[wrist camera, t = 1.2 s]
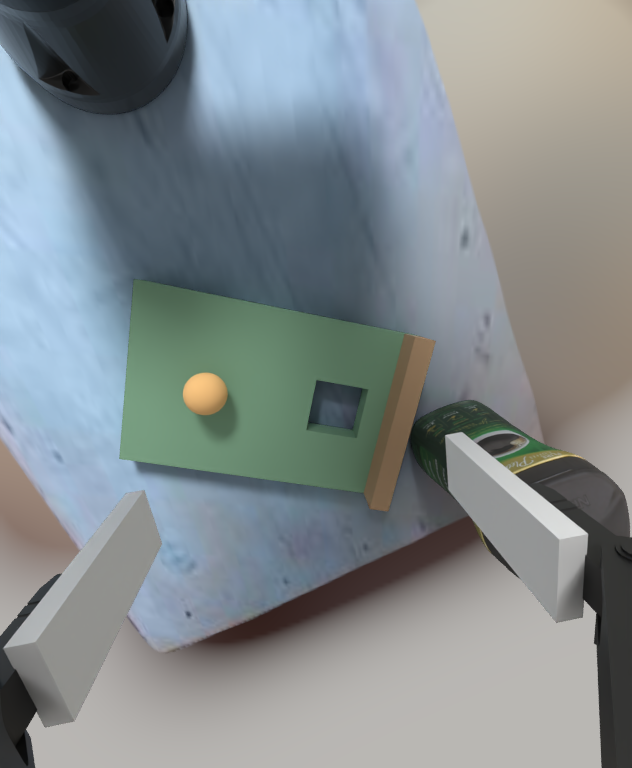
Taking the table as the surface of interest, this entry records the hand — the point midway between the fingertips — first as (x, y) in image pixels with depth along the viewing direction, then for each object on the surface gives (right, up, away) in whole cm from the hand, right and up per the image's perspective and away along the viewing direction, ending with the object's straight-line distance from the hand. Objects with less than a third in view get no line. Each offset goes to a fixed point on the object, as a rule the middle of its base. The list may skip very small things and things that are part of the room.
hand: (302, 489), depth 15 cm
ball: (-10, +4, +18) cm, 20 cm away
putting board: (-4, +4, +23) cm, 23 cm away
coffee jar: (+16, -1, +26) cm, 30 cm away
